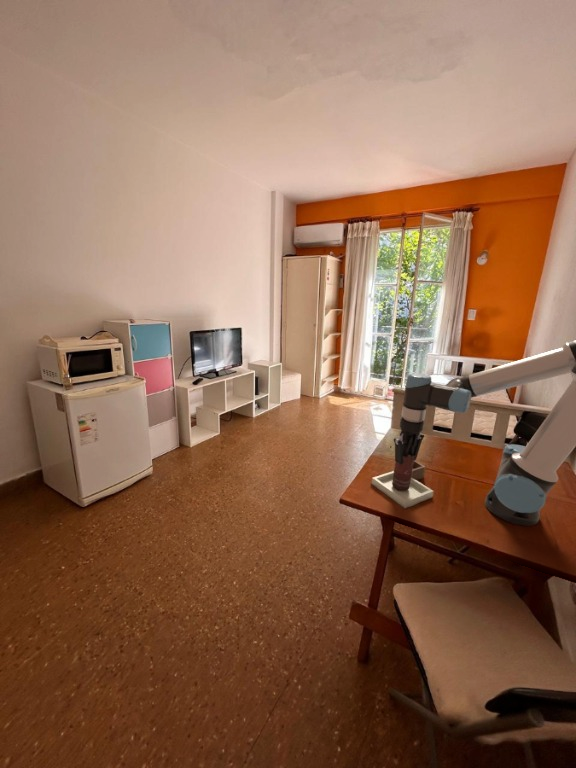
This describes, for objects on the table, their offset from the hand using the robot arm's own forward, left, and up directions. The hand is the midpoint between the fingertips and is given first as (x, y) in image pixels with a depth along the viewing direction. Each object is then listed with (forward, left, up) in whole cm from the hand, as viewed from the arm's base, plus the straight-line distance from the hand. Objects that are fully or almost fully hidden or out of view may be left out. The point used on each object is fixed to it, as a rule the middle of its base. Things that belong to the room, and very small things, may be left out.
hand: (402, 478), depth 115 cm
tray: (0, 0, -5) cm, 5 cm away
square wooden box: (+6, -11, -5) cm, 13 cm away
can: (+1, 0, -4) cm, 4 cm away
